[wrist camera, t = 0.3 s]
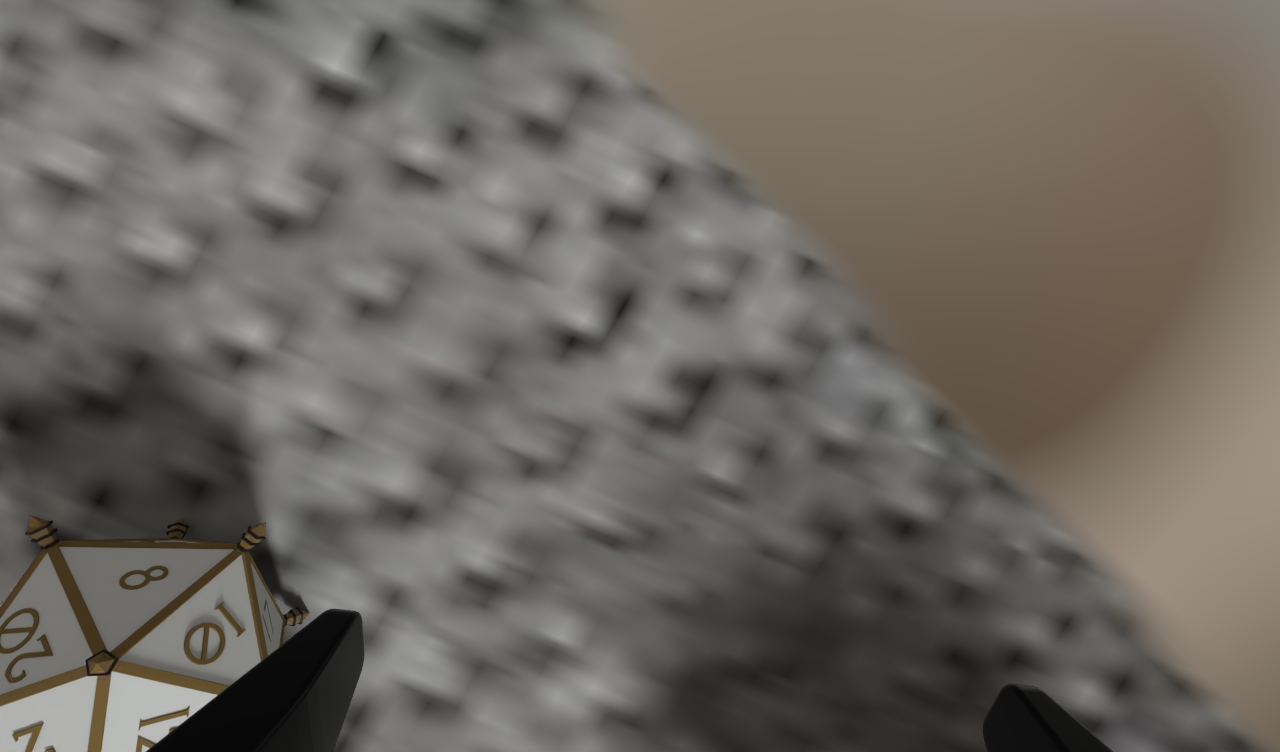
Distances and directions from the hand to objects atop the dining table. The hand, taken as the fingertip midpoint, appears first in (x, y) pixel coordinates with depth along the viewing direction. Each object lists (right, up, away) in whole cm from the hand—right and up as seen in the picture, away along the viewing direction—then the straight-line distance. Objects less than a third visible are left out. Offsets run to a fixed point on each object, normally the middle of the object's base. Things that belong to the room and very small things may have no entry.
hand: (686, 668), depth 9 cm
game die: (-15, -4, +13) cm, 20 cm away
